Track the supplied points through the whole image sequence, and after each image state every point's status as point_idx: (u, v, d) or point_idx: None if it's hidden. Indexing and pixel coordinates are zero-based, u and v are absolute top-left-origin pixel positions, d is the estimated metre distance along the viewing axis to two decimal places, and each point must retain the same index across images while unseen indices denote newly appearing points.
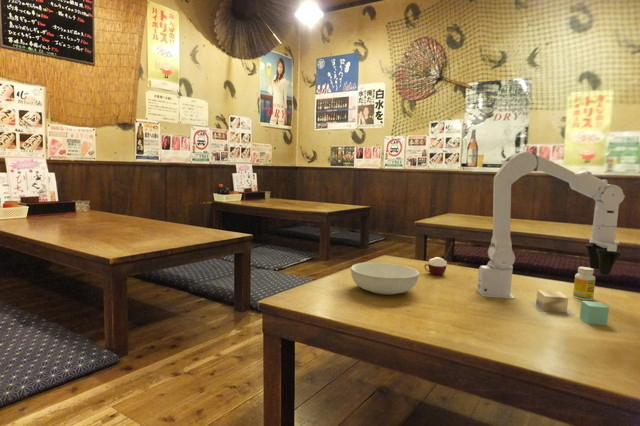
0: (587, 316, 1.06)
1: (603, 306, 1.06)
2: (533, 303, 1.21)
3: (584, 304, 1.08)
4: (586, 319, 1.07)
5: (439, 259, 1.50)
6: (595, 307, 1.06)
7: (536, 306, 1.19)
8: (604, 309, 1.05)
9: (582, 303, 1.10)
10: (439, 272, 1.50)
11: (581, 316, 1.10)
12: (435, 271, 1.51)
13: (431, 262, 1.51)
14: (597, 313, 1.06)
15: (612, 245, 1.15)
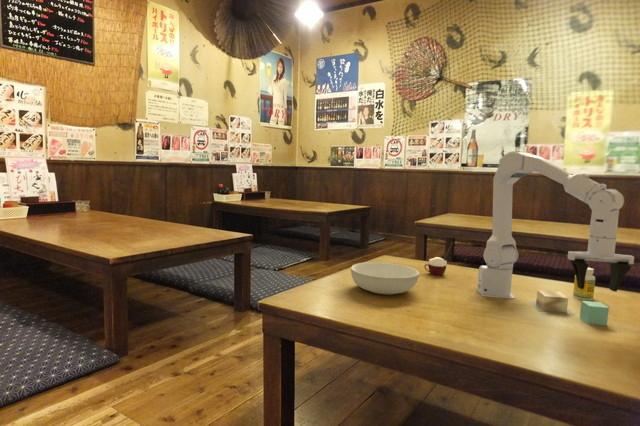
0: (587, 316, 1.06)
1: (603, 306, 1.06)
2: (533, 303, 1.21)
3: (584, 304, 1.08)
4: (586, 319, 1.07)
5: (439, 259, 1.50)
6: (595, 307, 1.06)
7: (536, 306, 1.19)
8: (604, 309, 1.05)
9: (582, 303, 1.10)
10: (439, 272, 1.50)
11: (581, 316, 1.10)
12: (435, 271, 1.51)
13: (431, 262, 1.51)
14: (597, 313, 1.06)
15: (569, 252, 1.07)
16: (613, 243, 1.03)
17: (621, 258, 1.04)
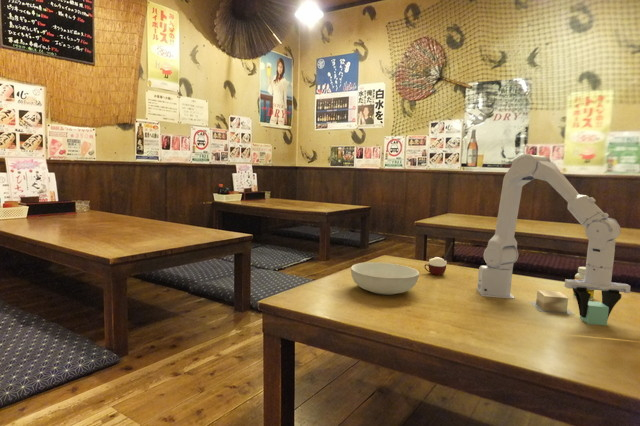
0: (587, 316, 1.06)
1: (603, 306, 1.06)
2: (533, 303, 1.21)
3: None
4: (586, 319, 1.07)
5: (439, 259, 1.50)
6: (595, 307, 1.06)
7: (536, 306, 1.19)
8: (604, 309, 1.05)
9: None
10: (439, 272, 1.50)
11: (581, 316, 1.10)
12: (435, 271, 1.51)
13: (431, 262, 1.51)
14: (597, 312, 1.06)
15: (566, 281, 1.08)
16: (610, 273, 1.04)
17: (617, 287, 1.05)
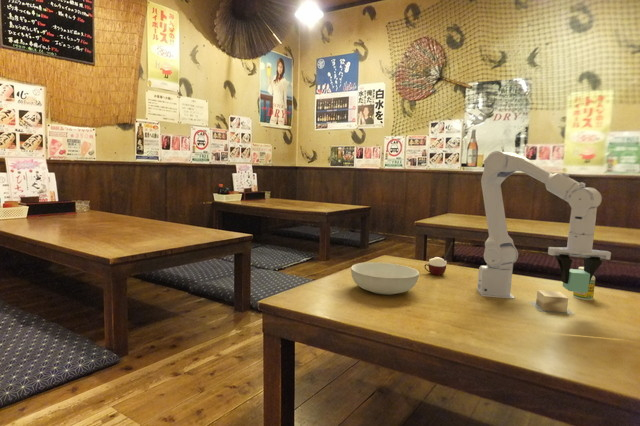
0: (569, 282, 1.10)
1: (585, 273, 1.10)
2: (533, 303, 1.21)
3: None
4: (568, 285, 1.11)
5: (439, 259, 1.50)
6: (577, 273, 1.09)
7: (536, 306, 1.19)
8: (585, 275, 1.09)
9: None
10: (439, 272, 1.50)
11: (564, 283, 1.13)
12: (435, 271, 1.51)
13: (431, 262, 1.51)
14: (579, 279, 1.09)
15: (549, 248, 1.12)
16: (591, 239, 1.08)
17: (598, 254, 1.08)
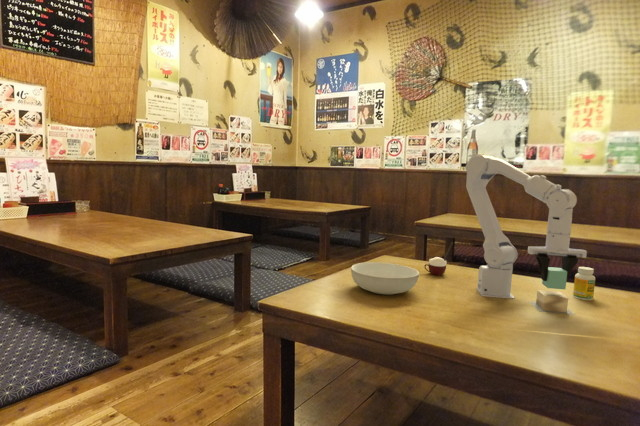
0: (548, 280, 1.16)
1: (562, 270, 1.15)
2: (533, 303, 1.21)
3: None
4: (547, 283, 1.16)
5: (439, 259, 1.50)
6: (555, 271, 1.15)
7: (536, 306, 1.19)
8: (563, 273, 1.14)
9: None
10: (439, 272, 1.50)
11: (543, 281, 1.19)
12: (435, 271, 1.51)
13: (431, 262, 1.51)
14: (556, 276, 1.15)
15: (529, 247, 1.18)
16: (567, 238, 1.13)
17: (575, 252, 1.14)
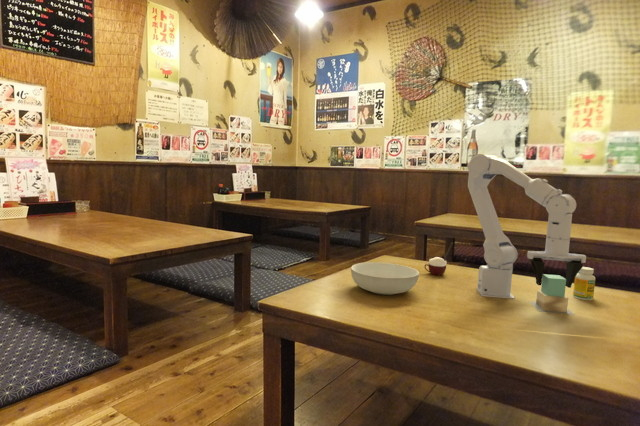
0: (547, 287, 1.16)
1: (561, 278, 1.15)
2: (533, 303, 1.21)
3: (544, 277, 1.18)
4: (546, 290, 1.16)
5: (439, 259, 1.50)
6: (554, 279, 1.15)
7: (536, 306, 1.19)
8: (562, 281, 1.15)
9: (543, 276, 1.19)
10: (439, 272, 1.50)
11: (542, 288, 1.19)
12: (435, 271, 1.51)
13: (431, 262, 1.51)
14: (556, 284, 1.15)
15: (528, 252, 1.18)
16: (567, 243, 1.13)
17: (574, 257, 1.14)
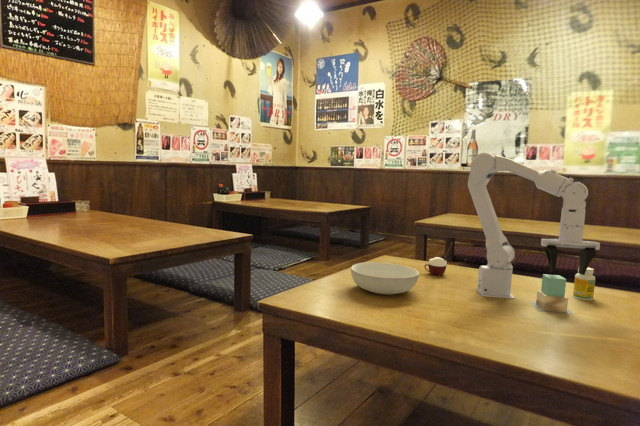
0: (547, 287, 1.16)
1: (561, 278, 1.15)
2: (533, 303, 1.21)
3: (544, 277, 1.18)
4: (546, 290, 1.16)
5: (439, 259, 1.50)
6: (554, 279, 1.15)
7: (536, 306, 1.19)
8: (562, 281, 1.15)
9: (543, 276, 1.19)
10: (439, 272, 1.50)
11: (542, 288, 1.19)
12: (435, 271, 1.51)
13: (431, 262, 1.51)
14: (556, 284, 1.15)
15: (542, 240, 1.19)
16: (581, 231, 1.14)
17: (588, 244, 1.15)
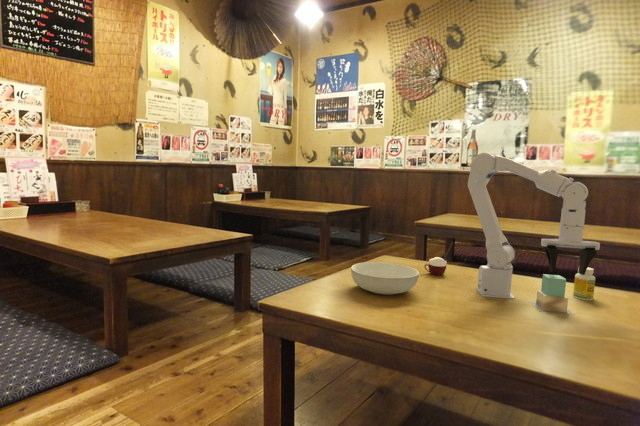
0: (547, 287, 1.16)
1: (561, 278, 1.15)
2: (533, 303, 1.21)
3: (544, 277, 1.18)
4: (546, 290, 1.16)
5: (439, 259, 1.50)
6: (554, 279, 1.15)
7: (536, 306, 1.19)
8: (562, 281, 1.15)
9: (543, 276, 1.19)
10: (439, 272, 1.50)
11: (542, 288, 1.19)
12: (435, 271, 1.51)
13: (431, 262, 1.51)
14: (556, 284, 1.15)
15: (542, 240, 1.19)
16: (581, 231, 1.14)
17: (588, 244, 1.15)
